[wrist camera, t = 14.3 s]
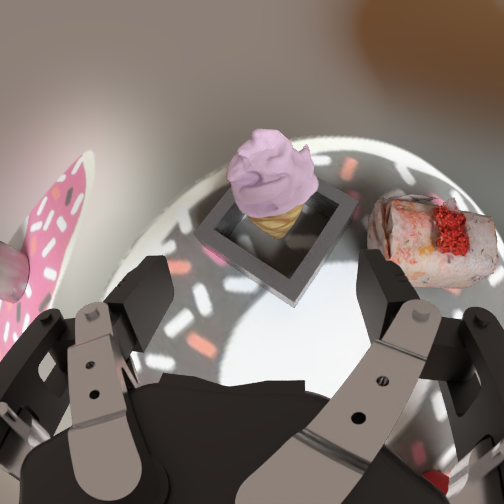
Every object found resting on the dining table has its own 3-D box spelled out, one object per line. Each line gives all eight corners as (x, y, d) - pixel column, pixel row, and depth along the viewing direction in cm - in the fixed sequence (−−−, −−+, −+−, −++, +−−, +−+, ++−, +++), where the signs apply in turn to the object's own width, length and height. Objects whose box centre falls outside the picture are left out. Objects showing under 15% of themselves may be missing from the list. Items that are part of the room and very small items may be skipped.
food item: (360, 290, 28) (389, 263, 19) (360, 220, 30) (383, 171, 21) (464, 294, 25) (515, 272, 16) (459, 231, 28) (501, 193, 19)
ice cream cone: (299, 200, 32) (296, 101, 18) (321, 247, 30) (338, 163, 16) (244, 220, 32) (207, 130, 18) (262, 270, 30) (232, 200, 16)
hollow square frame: (204, 246, 32) (193, 233, 28) (265, 169, 34) (261, 150, 30) (294, 308, 28) (294, 302, 24) (352, 217, 30) (359, 200, 27)
